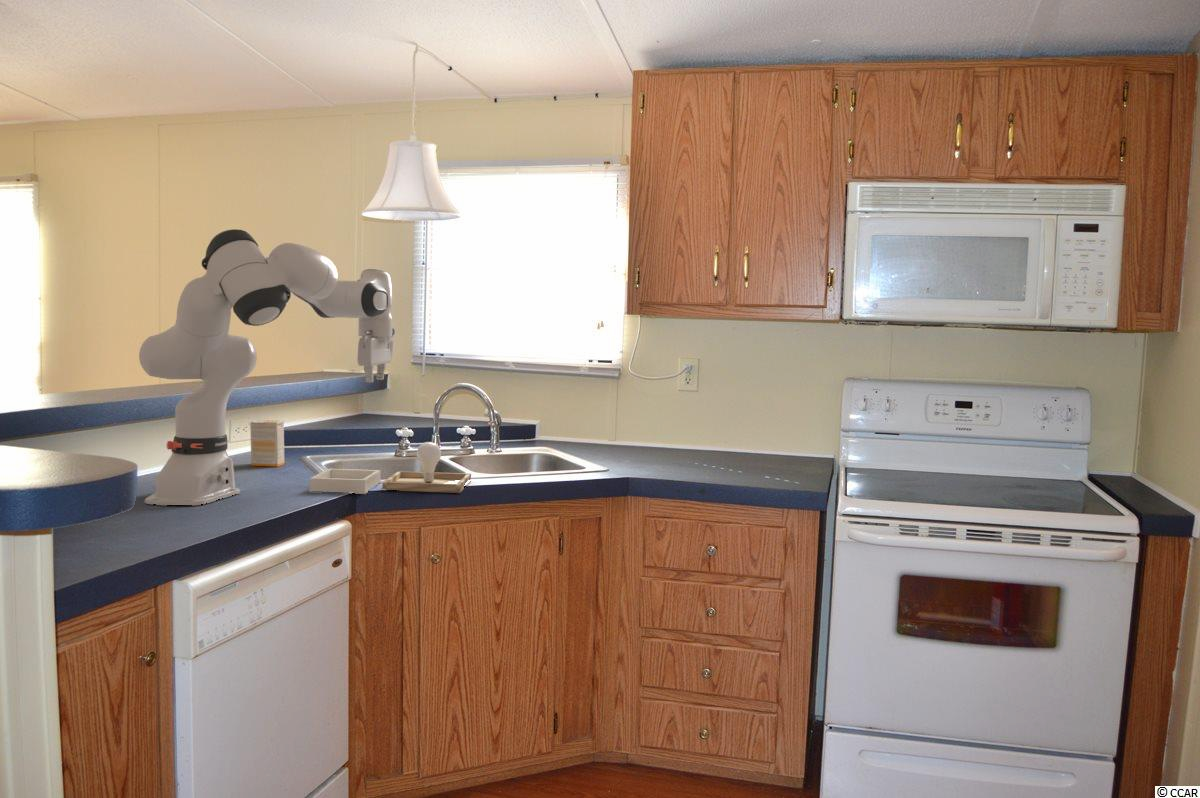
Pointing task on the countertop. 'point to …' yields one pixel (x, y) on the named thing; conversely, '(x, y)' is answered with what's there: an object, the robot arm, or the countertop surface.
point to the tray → (417, 483)
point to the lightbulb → (428, 459)
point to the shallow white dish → (345, 480)
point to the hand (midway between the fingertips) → (375, 381)
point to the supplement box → (267, 443)
